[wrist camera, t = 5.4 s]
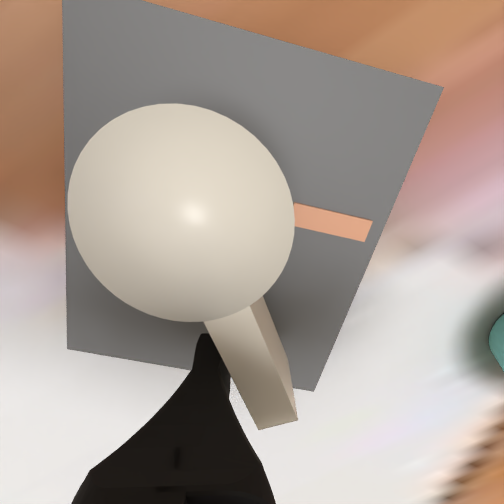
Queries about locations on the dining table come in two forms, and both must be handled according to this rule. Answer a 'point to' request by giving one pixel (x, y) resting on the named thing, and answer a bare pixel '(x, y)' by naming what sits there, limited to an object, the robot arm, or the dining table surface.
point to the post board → (271, 136)
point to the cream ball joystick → (192, 235)
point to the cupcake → (498, 341)
